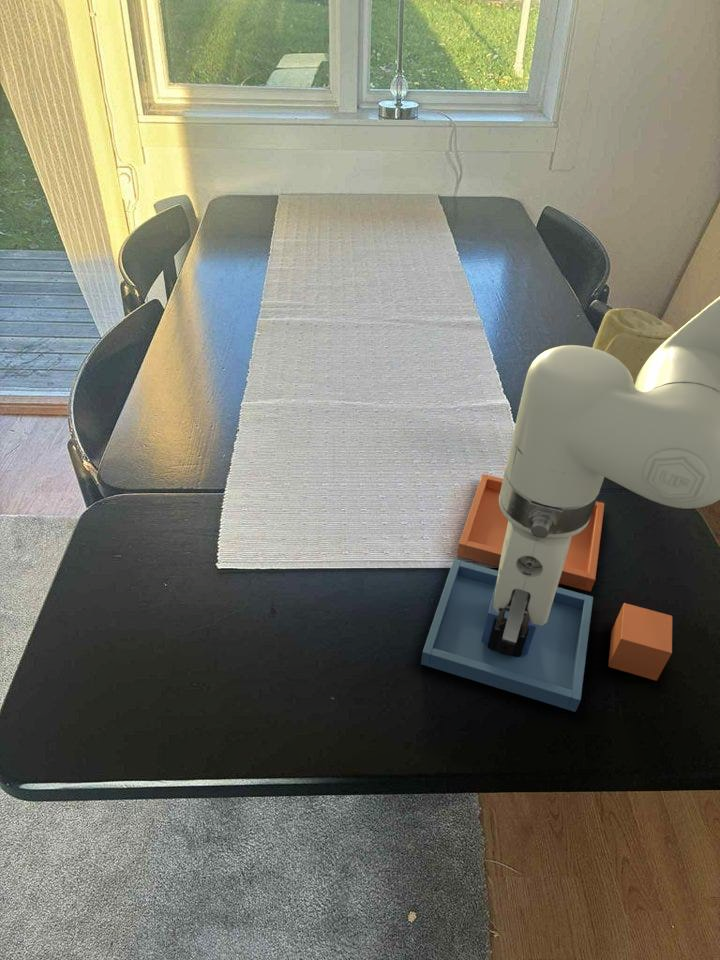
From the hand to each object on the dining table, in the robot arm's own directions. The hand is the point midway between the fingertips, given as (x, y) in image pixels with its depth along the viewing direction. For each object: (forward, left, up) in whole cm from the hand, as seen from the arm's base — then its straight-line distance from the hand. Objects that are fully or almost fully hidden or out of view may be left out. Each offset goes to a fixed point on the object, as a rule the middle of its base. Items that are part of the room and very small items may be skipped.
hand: (509, 628), depth 69 cm
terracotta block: (-12, -2, -1) cm, 12 cm away
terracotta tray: (0, -15, -1) cm, 15 cm away
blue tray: (0, 0, -1) cm, 1 cm away
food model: (-6, -33, -1) cm, 34 cm away
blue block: (0, 0, 0) cm, 0 cm away
